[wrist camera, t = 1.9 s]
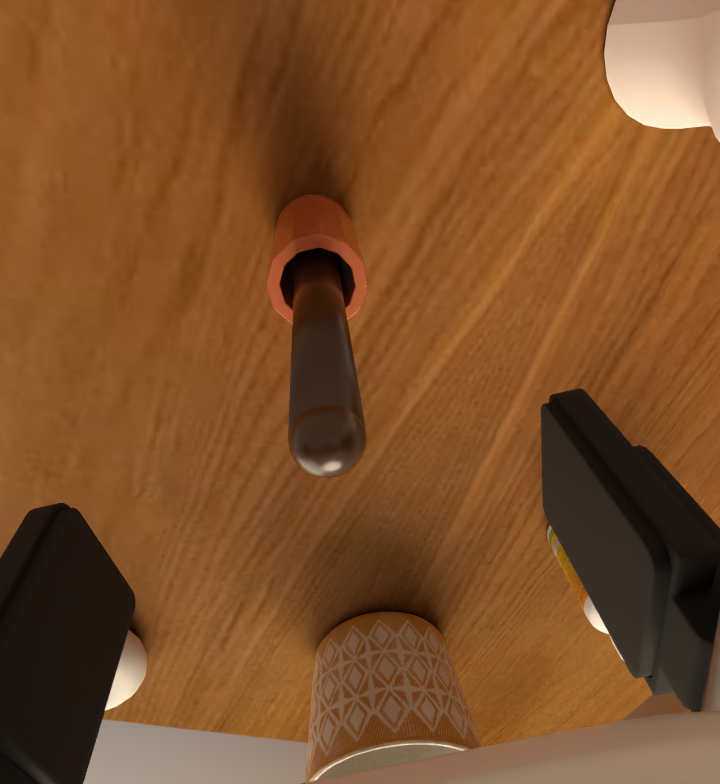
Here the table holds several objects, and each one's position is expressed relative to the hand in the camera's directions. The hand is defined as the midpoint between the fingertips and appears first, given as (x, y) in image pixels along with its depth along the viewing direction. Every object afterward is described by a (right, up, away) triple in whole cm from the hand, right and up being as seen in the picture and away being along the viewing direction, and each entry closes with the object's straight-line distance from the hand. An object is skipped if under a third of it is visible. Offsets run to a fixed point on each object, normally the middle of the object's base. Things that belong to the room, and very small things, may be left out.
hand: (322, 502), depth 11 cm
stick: (-1, +10, +15) cm, 18 cm away
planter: (+2, -19, +35) cm, 40 cm away
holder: (-2, +10, +16) cm, 19 cm away
